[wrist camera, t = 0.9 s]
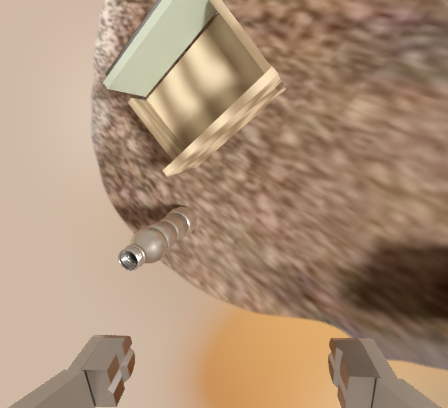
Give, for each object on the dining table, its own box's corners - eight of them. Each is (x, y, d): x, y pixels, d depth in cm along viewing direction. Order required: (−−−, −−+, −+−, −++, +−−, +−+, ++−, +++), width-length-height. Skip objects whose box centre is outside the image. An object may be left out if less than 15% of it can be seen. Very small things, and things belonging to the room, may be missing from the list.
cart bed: (226, 9, 42) (196, -36, 31) (285, 89, 43) (278, 74, 31) (147, 101, 51) (102, 93, 40) (197, 166, 52) (166, 176, 40)
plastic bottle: (168, 209, 57) (103, 247, 38) (192, 200, 54) (135, 235, 36) (180, 234, 58) (121, 282, 39) (204, 226, 55) (154, 274, 37)
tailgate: (208, 0, 40) (179, -38, 31) (216, 11, 40) (190, -24, 31) (138, 87, 48) (98, 77, 39) (145, 96, 48) (107, 88, 39)
